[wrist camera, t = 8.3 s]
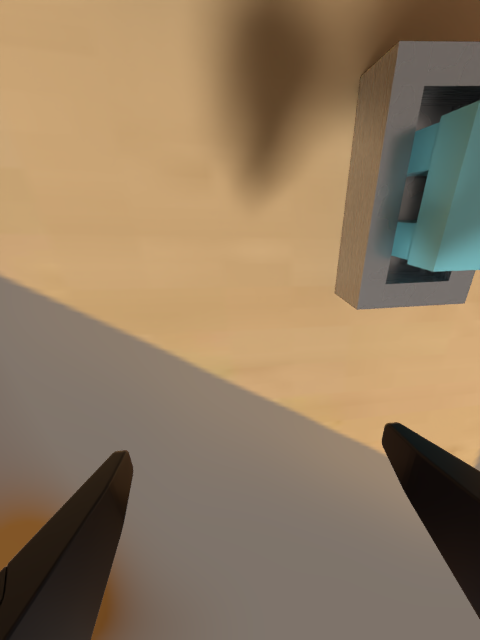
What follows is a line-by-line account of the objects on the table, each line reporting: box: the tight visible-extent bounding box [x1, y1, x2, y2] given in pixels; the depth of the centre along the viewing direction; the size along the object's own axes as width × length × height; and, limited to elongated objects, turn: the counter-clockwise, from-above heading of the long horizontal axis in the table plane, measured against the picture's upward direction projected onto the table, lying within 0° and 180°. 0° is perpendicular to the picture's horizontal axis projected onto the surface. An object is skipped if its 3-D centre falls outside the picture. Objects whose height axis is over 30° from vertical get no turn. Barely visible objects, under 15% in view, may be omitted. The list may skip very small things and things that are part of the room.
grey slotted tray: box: [335, 41, 480, 309], centre depth 16 cm, size 13×7×4 cm, turn 2°
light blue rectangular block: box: [391, 100, 480, 272], centre depth 15 cm, size 7×3×6 cm, turn 1°
